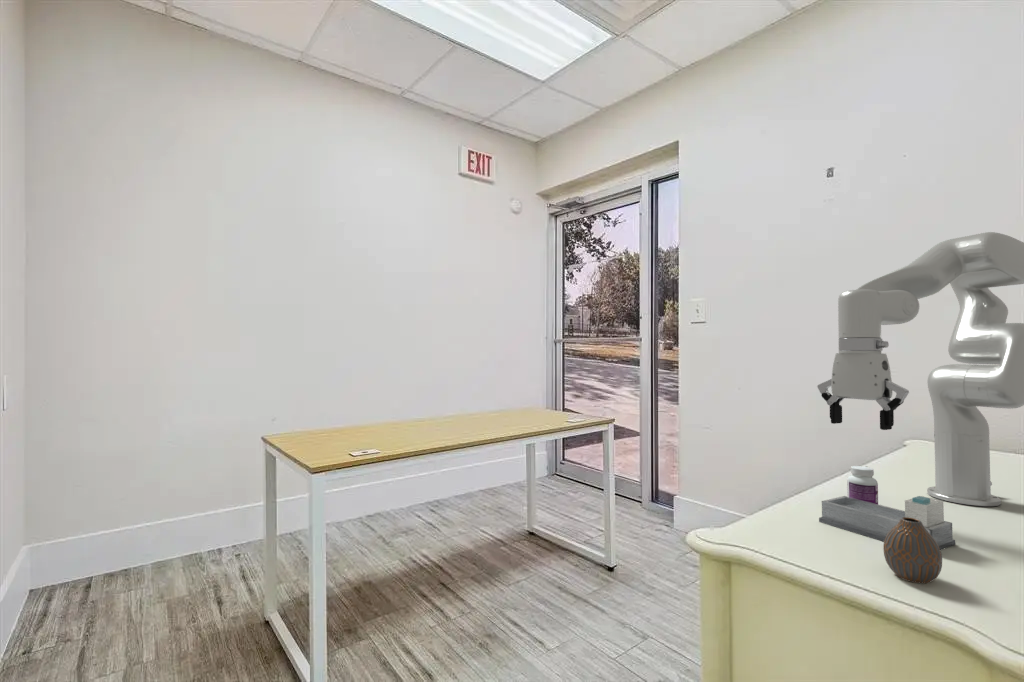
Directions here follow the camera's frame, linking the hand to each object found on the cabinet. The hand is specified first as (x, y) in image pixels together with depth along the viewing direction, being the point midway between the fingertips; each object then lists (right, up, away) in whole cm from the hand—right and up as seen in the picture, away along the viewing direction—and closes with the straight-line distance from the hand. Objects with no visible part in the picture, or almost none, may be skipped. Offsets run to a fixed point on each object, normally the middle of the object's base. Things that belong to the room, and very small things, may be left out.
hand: (860, 426), depth 103 cm
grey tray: (-4, -18, -12) cm, 22 cm away
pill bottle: (0, -19, 0) cm, 19 cm away
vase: (-14, -18, -30) cm, 38 cm away
